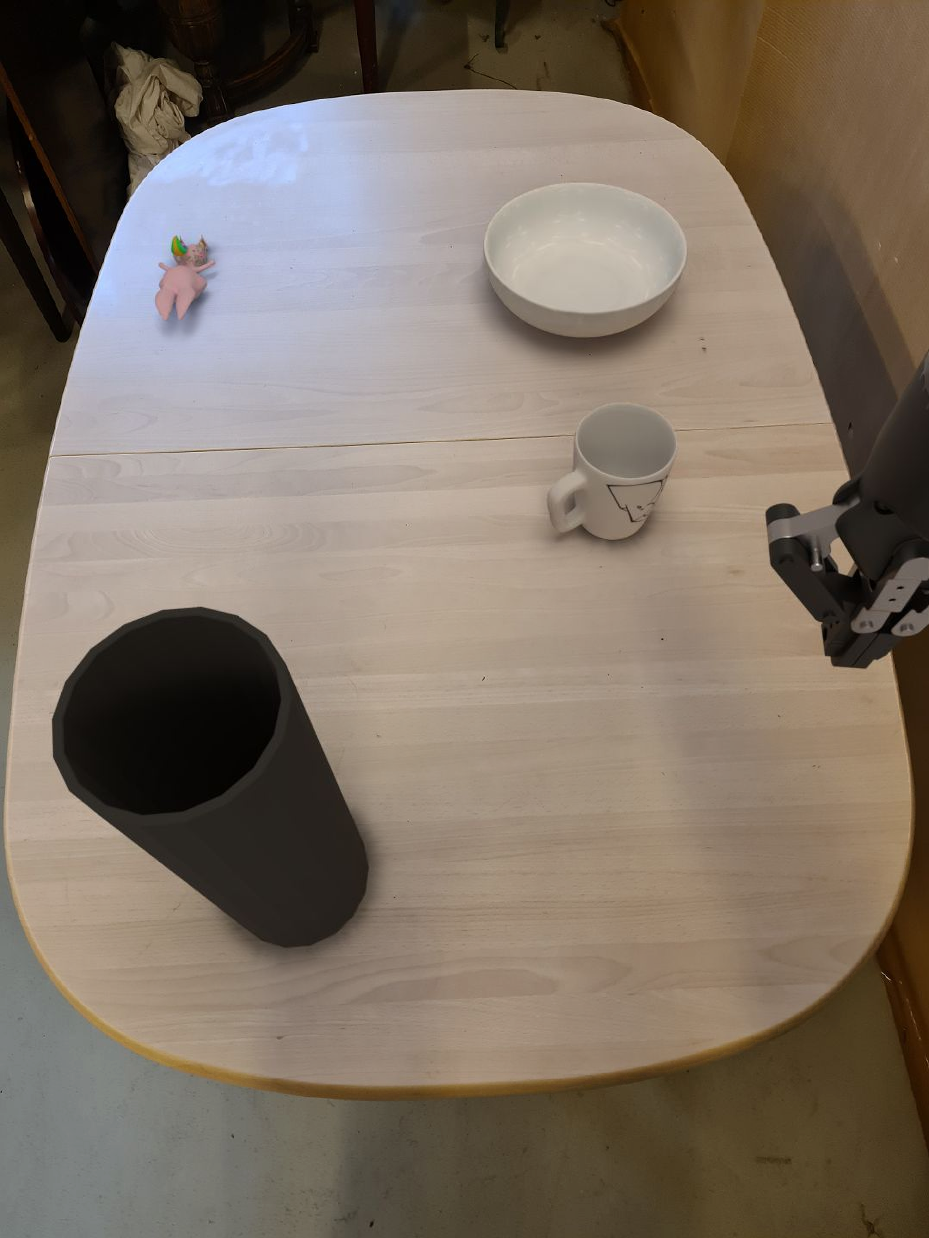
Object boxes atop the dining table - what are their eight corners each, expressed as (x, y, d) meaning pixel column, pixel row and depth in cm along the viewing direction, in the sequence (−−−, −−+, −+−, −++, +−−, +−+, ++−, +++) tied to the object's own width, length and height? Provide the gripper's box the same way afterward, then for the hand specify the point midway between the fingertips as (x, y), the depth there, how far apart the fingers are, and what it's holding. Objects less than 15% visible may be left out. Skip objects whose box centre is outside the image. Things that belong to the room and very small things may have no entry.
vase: (225, 953, 60) (31, 835, 34) (232, 812, 65) (68, 616, 39) (371, 940, 60) (290, 812, 34) (367, 801, 65) (293, 598, 39)
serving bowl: (713, 292, 93) (729, 237, 87) (591, 397, 86) (599, 344, 80) (566, 211, 100) (572, 155, 94) (442, 301, 93) (440, 246, 87)
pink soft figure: (171, 262, 99) (147, 335, 90) (155, 211, 94) (128, 282, 85) (225, 260, 99) (207, 333, 90) (212, 208, 95) (191, 279, 85)
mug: (571, 581, 75) (582, 512, 66) (519, 515, 79) (524, 441, 70) (675, 525, 78) (699, 452, 69) (620, 464, 81) (637, 387, 73)
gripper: (849, 468, 25) (709, 711, 40) (1336, 498, 24) (1004, 734, 39) (820, 291, 28) (702, 575, 43) (1240, 312, 27) (971, 594, 42)
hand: (845, 650), depth 41 cm, fingers closed
